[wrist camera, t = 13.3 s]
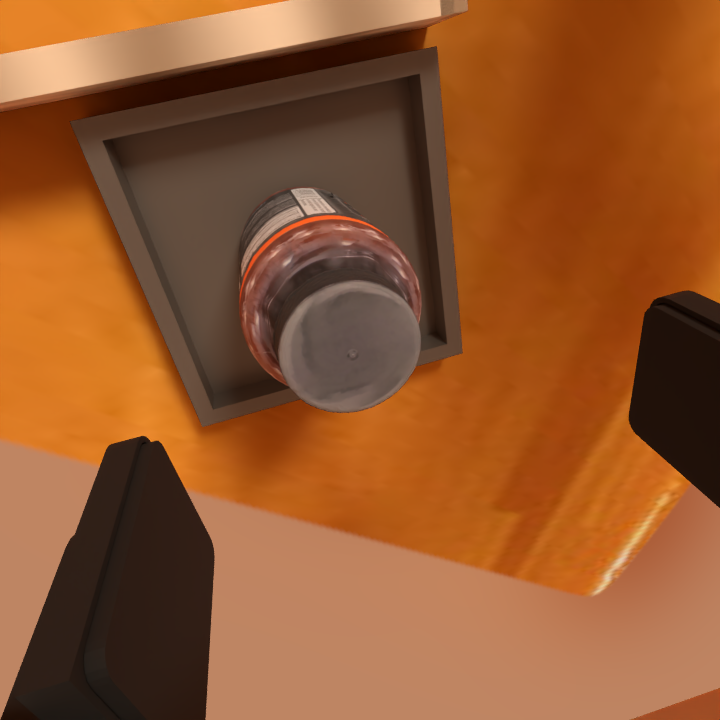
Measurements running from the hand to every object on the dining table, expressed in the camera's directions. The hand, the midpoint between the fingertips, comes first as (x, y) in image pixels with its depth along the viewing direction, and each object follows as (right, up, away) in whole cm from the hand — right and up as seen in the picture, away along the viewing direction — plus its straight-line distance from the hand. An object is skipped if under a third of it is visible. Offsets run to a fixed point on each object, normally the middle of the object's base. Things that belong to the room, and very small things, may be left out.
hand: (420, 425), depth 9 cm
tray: (-4, +7, +14) cm, 16 cm away
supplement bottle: (-4, +7, +14) cm, 16 cm away
